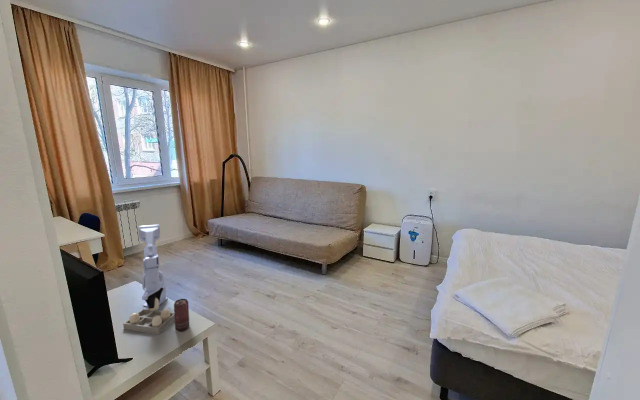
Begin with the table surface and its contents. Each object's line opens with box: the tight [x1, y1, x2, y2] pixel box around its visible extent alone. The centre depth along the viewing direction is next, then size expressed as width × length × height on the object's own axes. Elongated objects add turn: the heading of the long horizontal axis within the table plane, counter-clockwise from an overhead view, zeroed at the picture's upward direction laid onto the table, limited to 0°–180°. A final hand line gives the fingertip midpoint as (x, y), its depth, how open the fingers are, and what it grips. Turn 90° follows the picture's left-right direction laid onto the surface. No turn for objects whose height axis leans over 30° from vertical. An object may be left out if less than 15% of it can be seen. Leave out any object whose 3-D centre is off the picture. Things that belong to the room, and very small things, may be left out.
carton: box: [122, 308, 175, 335], centre depth 132 cm, size 12×18×3 cm
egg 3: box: [152, 316, 162, 328], centre depth 128 cm, size 4×4×6 cm
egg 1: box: [129, 312, 140, 324], centre depth 129 cm, size 4×4×6 cm
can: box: [173, 298, 190, 333], centre depth 129 cm, size 6×6×14 cm
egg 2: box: [149, 298, 160, 311], centre depth 133 cm, size 4×4×6 cm
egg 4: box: [161, 308, 171, 320], centre depth 134 cm, size 4×4×6 cm
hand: (154, 305), depth 134 cm, fingers closed on egg 2, 4 cm apart
